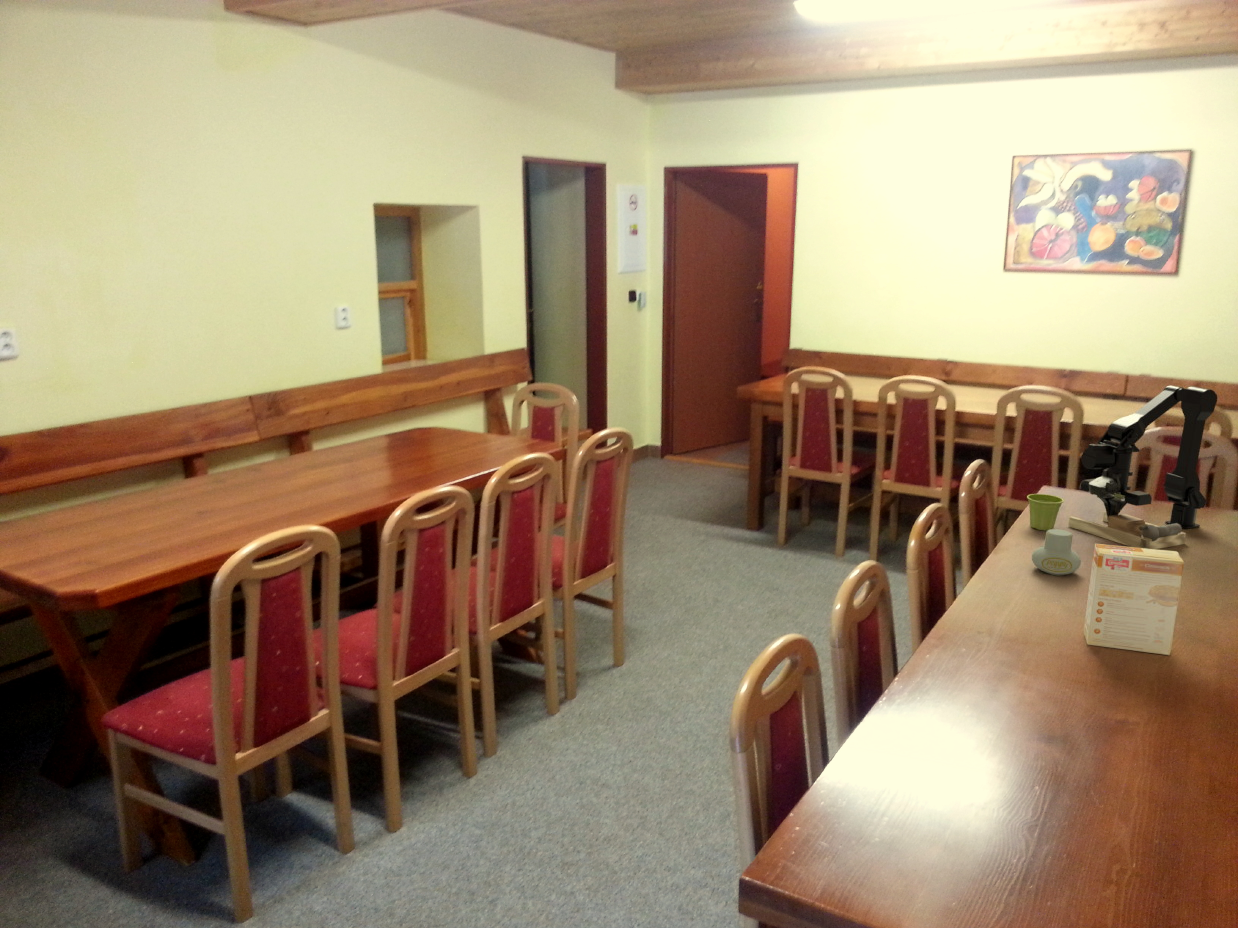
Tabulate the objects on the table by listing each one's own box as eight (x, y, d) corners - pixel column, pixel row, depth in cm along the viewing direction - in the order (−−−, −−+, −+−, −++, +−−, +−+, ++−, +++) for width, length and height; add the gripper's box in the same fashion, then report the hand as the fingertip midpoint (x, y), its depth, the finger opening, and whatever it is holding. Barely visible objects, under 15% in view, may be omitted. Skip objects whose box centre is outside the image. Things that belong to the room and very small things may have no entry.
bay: (1106, 520, 278) (1109, 498, 277) (1189, 545, 256) (1192, 521, 254) (1068, 526, 272) (1071, 503, 270) (1149, 552, 249) (1153, 528, 248)
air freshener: (1030, 573, 232) (1035, 534, 230) (1030, 563, 240) (1034, 525, 238) (1080, 579, 228) (1085, 539, 226) (1078, 569, 236) (1083, 530, 234)
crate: (1121, 530, 268) (1123, 513, 267) (1142, 537, 262) (1145, 520, 261) (1105, 532, 266) (1107, 515, 265) (1126, 539, 260) (1129, 522, 259)
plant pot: (1063, 533, 265) (1067, 503, 263) (1027, 531, 266) (1030, 501, 264) (1055, 524, 274) (1059, 494, 272) (1020, 521, 275) (1024, 492, 273)
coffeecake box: (1163, 642, 193) (1177, 550, 189) (1170, 656, 186) (1185, 561, 182) (1082, 631, 198) (1094, 542, 193) (1086, 645, 191) (1098, 552, 187)
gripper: (1069, 462, 269) (1062, 515, 273) (1128, 477, 253) (1119, 534, 256) (1097, 459, 274) (1090, 511, 277) (1156, 474, 257) (1148, 529, 261)
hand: (1110, 521), depth 268 cm, fingers closed
